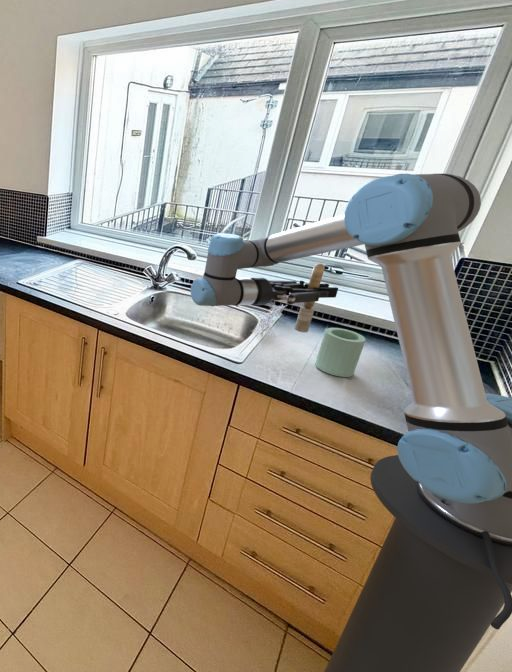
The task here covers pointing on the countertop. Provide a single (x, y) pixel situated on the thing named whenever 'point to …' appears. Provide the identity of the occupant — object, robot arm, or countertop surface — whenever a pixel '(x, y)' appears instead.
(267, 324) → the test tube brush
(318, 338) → the countertop surface
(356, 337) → the mint green pipe segment
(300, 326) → the brush
